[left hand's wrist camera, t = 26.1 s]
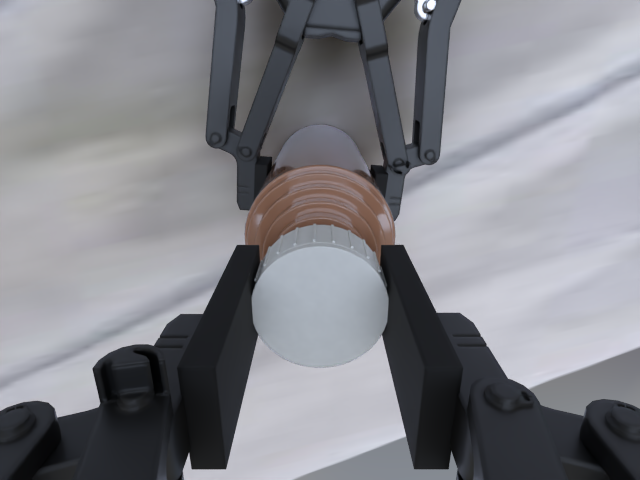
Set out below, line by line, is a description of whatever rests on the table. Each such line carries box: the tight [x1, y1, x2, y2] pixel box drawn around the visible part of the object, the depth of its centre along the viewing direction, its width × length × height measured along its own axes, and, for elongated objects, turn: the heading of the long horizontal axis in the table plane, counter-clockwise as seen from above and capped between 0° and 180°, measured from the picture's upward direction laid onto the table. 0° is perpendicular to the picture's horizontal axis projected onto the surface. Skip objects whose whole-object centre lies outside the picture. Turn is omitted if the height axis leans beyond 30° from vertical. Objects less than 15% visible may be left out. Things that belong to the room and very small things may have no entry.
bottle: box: [245, 124, 395, 266], centre depth 23 cm, size 7×7×21 cm
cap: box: [252, 224, 389, 368], centre depth 14 cm, size 4×4×2 cm
